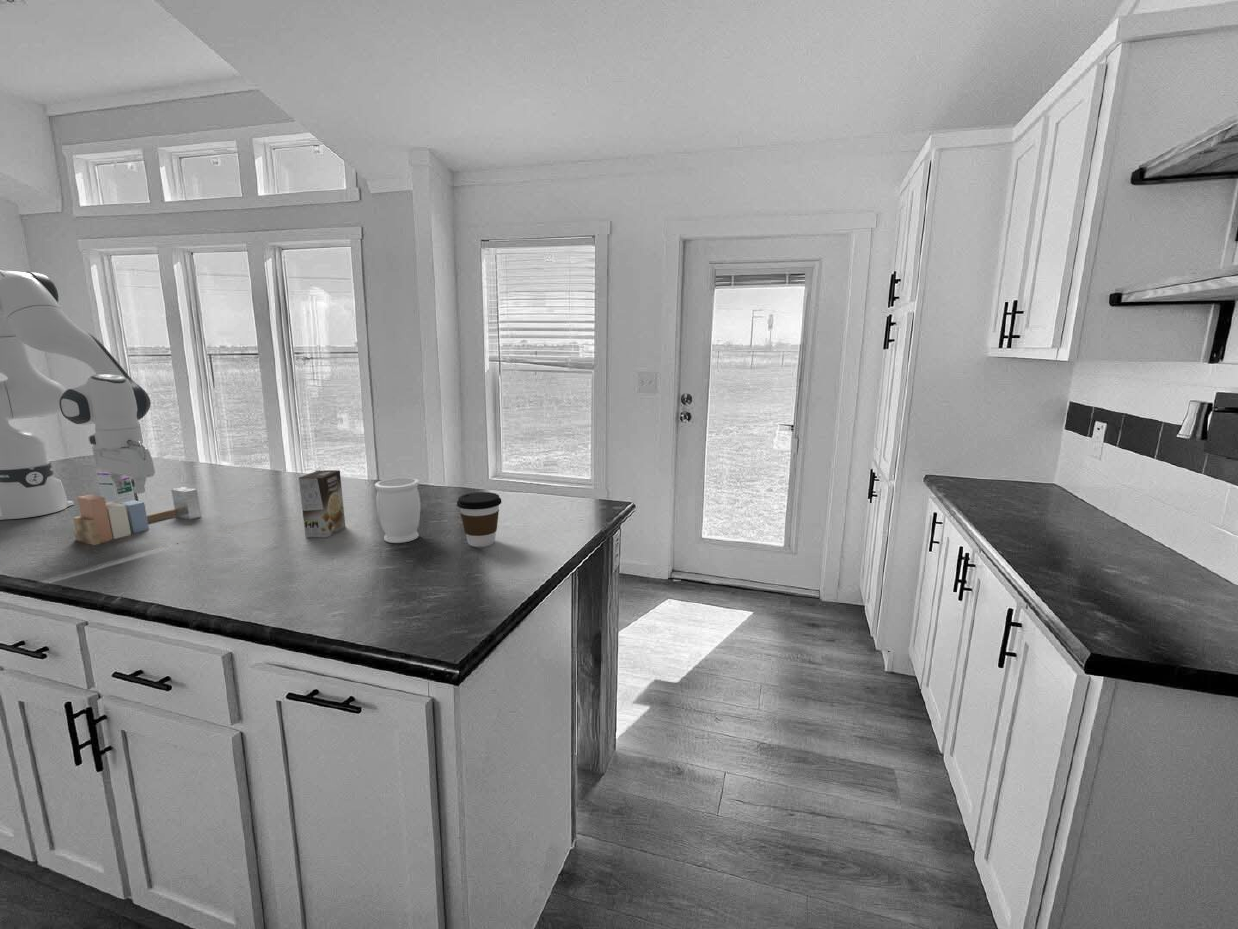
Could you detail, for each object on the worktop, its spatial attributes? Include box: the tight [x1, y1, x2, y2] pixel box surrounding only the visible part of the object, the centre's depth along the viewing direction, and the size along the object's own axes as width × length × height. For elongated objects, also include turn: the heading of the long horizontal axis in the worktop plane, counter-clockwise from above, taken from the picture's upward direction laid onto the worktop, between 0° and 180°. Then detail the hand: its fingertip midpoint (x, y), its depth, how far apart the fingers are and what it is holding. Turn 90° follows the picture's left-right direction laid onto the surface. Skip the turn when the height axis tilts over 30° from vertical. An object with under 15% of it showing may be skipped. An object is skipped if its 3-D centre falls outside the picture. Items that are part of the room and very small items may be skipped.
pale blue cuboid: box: [118, 500, 150, 534], centre depth 151 cm, size 5×3×8 cm, turn 65°
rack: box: [72, 508, 176, 546], centre depth 153 cm, size 9×25×7 cm, turn 155°
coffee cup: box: [456, 491, 502, 548], centre depth 144 cm, size 11×11×12 cm
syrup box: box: [95, 470, 139, 503], centre depth 165 cm, size 6×6×14 cm
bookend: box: [171, 486, 202, 520], centre depth 162 cm, size 7×3×8 cm, turn 65°
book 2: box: [106, 502, 132, 540], centre depth 147 cm, size 7×4×8 cm, turn 65°
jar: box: [374, 477, 421, 544], centre depth 147 cm, size 11×10×15 cm
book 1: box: [76, 494, 113, 542], centre depth 144 cm, size 6×3×11 cm, turn 65°
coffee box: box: [298, 469, 346, 539], centre depth 151 cm, size 9×6×16 cm
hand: (129, 490), depth 150 cm, fingers open, 8 cm apart
